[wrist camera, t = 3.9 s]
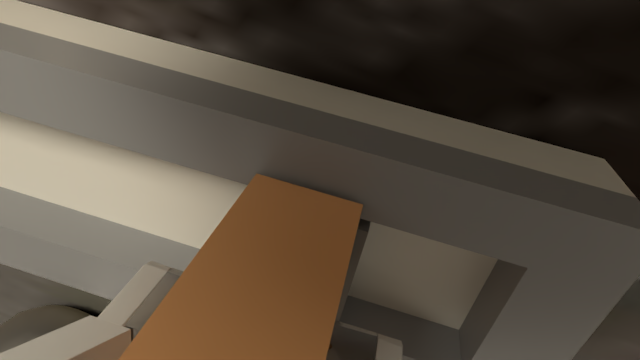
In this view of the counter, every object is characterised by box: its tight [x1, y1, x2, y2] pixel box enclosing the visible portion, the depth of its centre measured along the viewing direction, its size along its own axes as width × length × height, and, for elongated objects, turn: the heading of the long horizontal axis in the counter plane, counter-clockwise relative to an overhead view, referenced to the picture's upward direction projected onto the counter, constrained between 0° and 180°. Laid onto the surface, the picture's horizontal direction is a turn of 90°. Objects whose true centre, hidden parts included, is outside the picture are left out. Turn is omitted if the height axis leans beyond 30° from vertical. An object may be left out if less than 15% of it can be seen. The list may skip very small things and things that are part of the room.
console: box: [0, 0, 640, 360], centre depth 13 cm, size 28×7×4 cm, turn 78°
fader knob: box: [118, 173, 371, 360], centre depth 9 cm, size 3×5×7 cm, turn 168°
